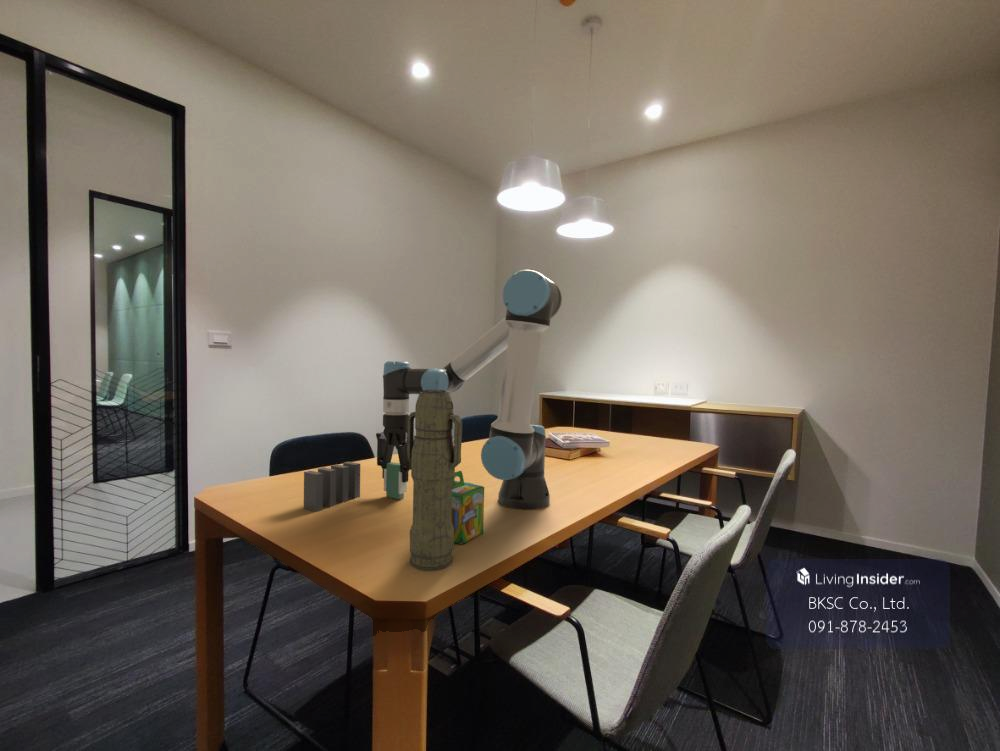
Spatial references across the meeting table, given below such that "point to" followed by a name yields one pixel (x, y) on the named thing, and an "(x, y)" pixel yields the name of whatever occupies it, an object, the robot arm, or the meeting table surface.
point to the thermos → (433, 478)
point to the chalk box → (467, 509)
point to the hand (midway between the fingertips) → (395, 491)
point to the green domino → (393, 481)
